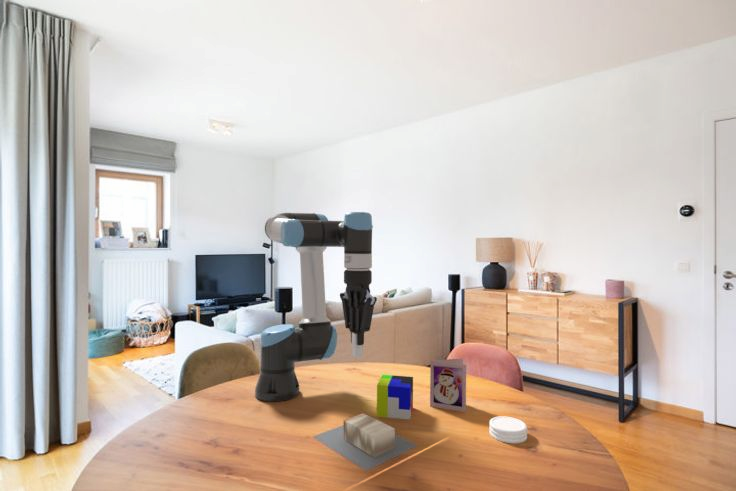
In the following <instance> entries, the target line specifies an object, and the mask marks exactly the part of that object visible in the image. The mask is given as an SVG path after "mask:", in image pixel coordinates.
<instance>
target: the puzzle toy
mask: <svg viewBox="0 0 736 491" xmlns="http://www.w3.org/2000/svg"><path fill="white" fill-rule="evenodd" d="M378 380H379V381H378V383H377V385H376V417H378V418H390V419H399V420H411V417H412V412H413V409H414V405H413V404H414V376H404V375H392V374H381V376H380V379H378Z"/></svg>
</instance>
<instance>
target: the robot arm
mask: <svg viewBox="0 0 736 491" xmlns="http://www.w3.org/2000/svg"><path fill="white" fill-rule="evenodd" d="M373 227H374V226H373V218H372V214H371V213H369V212H365V211H349V212H346V213H344V218H343V220H329V219H328V217H327V216H326V215H325V214H321V213H315V212H313V213H308V212H307V213H303V212H299V213H298V212H282V213H280V212H279V213H277V214H274V215H272V216H271V217H269V218H268V219H267V221H266V222H265V224H264V233H265V235H266V236H267V238H268V239H269V240H270V241H272V242H275V243H277V244H282V245H283V246H284V247H292V248H295V250H296V252H297V253H298V254H299V258H300V259H299V261H300V284H301V285H300V286H301V306H302V308H301V309H302V310H301V311H302V318H301V320H300V321H299V322H298V328H296V327H295V325H294V324H289V323H287V324H285V323H284V324H277V325H273V326H269V327H267V328H265V329H264V330H263V331H262V332H261V335H260V342H259V346H260V369H259V370H260V372H259V376H258V379H257V382H256V386H255V389H254V396H255V398H256V399H258V400H260V401H264V402H283V401H288V400H291V399H294V398H295V397H297V396H298V395H299V394H300V383H299V381H298V377H297V375H296V371H295V363H300V362H308V361H317V360H319V361H322V360H325V359H330V358H331V357H332V356H334V354H335V352H336V349H337V345H338V332H337V328H336V327H335V325H332V321H331V320H330V318H328V317H327V306H326V305H327V304H326V291H325V290H326V286H325V272H324V268H325V267H324V252H325V251H326V249H327V248H330V247H332V248H333V247H334V248H337V247H338V248H339V247H340V248H343V250H344V251H343V254H344V255H343V257H344V258H343V261H344V262H343V267H344V268H345V270H344V271H343V282H344V284H345V285H346V286H345V291H344V292H340V293H339V297H340V300H341V303H342V304H341V305H342V312H343V313H342V314H343V318H344V324H345V328H346V329H347V330H349V332H350V342H351V357H352V358H356V359H357V358H361V357H363V355H364V343H365V333H366V332H369V331H370V330H371V325H372V319H373V313H374V309H375V305H376V303H377V300H378V299H377V296H373V295H372V293H371V289H370V285H371V284H372V280H373V278H372V276H373V274H372V273H373V272H372V271H371V269H372V267H373V254H372V253H373V249H372V248H373V246H372V245H373Z"/></svg>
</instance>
